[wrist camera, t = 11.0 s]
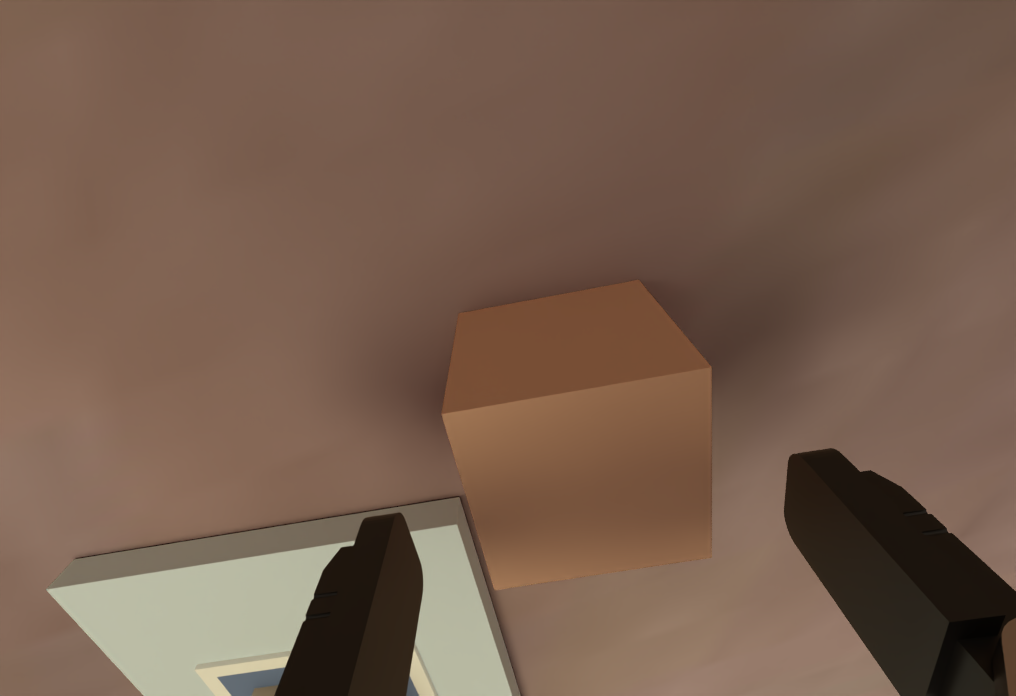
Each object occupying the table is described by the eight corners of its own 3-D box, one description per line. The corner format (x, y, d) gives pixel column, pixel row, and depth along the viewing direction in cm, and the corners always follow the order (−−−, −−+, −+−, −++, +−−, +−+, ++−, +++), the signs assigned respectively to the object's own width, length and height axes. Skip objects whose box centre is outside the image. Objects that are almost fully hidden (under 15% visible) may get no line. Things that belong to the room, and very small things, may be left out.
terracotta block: (458, 312, 13) (441, 414, 9) (637, 279, 13) (711, 367, 9) (494, 452, 16) (494, 590, 11) (648, 426, 15) (711, 557, 11)
